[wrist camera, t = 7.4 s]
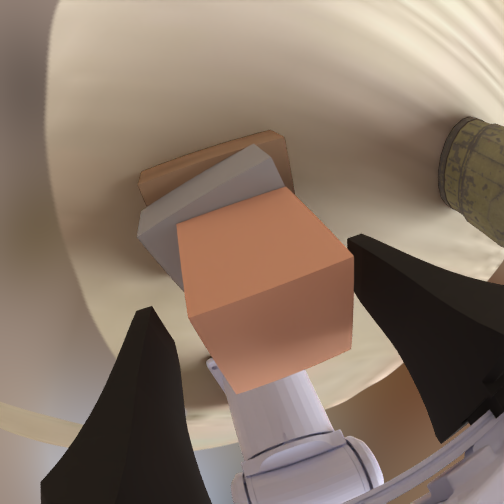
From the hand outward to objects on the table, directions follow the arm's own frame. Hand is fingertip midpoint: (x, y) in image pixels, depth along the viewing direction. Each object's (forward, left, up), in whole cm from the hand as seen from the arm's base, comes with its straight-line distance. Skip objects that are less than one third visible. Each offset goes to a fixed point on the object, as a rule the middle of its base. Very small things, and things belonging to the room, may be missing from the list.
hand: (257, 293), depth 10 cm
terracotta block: (0, 0, -3) cm, 3 cm away
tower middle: (0, 0, -5) cm, 5 cm away
